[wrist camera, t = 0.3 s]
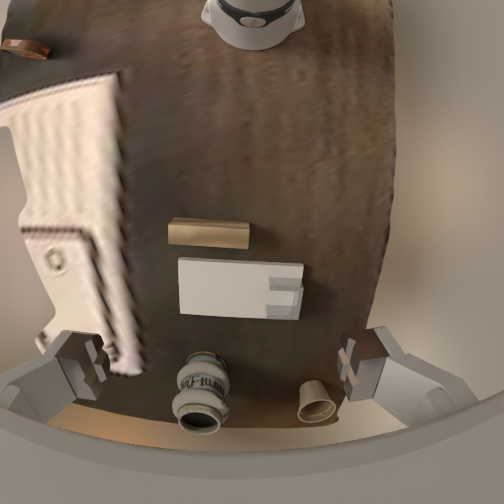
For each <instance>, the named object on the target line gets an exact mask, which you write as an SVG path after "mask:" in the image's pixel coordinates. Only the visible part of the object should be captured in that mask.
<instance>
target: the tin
mask: <svg viewBox="0 0 504 504" xmlns="http://www.w3.org/2000/svg"><path fill="white" fill-rule="evenodd" d="M0 50H1V51H3V52H6V53H9V54H13V55H17V56H22V57H30V58H36V59H47V57H48V55H49V53H50V50H51V48H50V47H47V46H45V45H44V44H42V43H40V42H37V41H33V40H28V39H5V40H4V42H3V44H2V46H1V48H0Z"/></svg>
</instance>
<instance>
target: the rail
mask: <svg viewBox="0 0 504 504" xmlns="http://www.w3.org/2000/svg"><path fill="white" fill-rule="evenodd" d="M249 231H250V228H249V222H238V221H223V220H207V219H189V218H174V219H173V220H172V221H171V222H170V223H169V224H168V240H169V244H180V245H195V246H210V247H226V248H241V249H248V243H249Z"/></svg>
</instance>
